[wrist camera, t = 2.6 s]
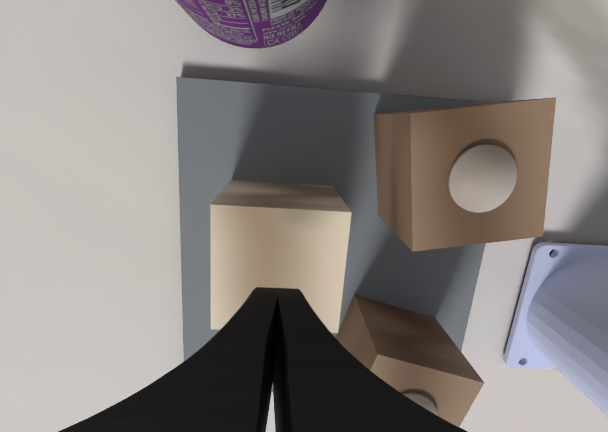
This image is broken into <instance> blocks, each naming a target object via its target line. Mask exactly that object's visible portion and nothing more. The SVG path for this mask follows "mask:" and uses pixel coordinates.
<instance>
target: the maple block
mask: <svg viewBox="0 0 608 432" xmlns="http://www.w3.org/2000/svg"><path fill="white" fill-rule="evenodd" d="M351 214H352V212H351V211H350V209H349V208H348V206H347V205H346V204H345V202H344V201H343V199H342V198H341V196H340V195H339V194H338V192H337V191H336V189H335V188H334V187H333V186H328V185H312V184H295V183H279V182H262V181H246V180H231V181H230V182H229V183H228V184H227V185H226V187H225V188H224V189H223V190H222V191H221V193H220V194H219V195H218V196H217V197H216V198H215V200H214V201H213V202H212V203H211V204H210V249H211V329H216V330H220V329H221V328H222V327H223V326H224V325H225V324H226V323H227V322H228V321H229V320H230V319H231V318H232V316H233V315H234V314H235V313H236V312H237V311H238V310H239V308H240V307H241V306H242V305H243V303H244V302H245V301H246V299H247V298H248V297H249V295H250V294H251V292H252V291H253V290H254V289H255V288H256V287H267V288H293V289H300V291H301V292H302V293H303V295H304V296H305V298H306V300H307V301H308V303H309V304H310V306H311V307H312V309H313V310H314V312H315V313H316V314H317V316H318V317H319V318H320V320H321V321H322V322H323V324H324V325H325V326H326V327H327V329H328V330H329V331H330V332H331V333H338V329H339V321H340V312H341V303H342V294H343V285H344V276H345V267H346V258H347V249H348V241H349V232H350V223H351Z"/></svg>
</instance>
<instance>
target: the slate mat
mask: <svg viewBox="0 0 608 432" xmlns="http://www.w3.org/2000/svg"><path fill="white" fill-rule="evenodd" d="M176 79H177V117H178V155H179V192H180V230H181V268H182V305H183V343H184V361H186V360H187V359H188V358H189V357H191V356H192V355H193V354H194V353H196V352H197V351H198V350H199V349H200V348H201V347H202V346H204V345H205V344H206V343H207V342H208V341H209V340H210V339H211V338H212V337H213V336H214V335H215V334H216V333H217V332H218V331H219V330H216V329H211V249H210V204H211V203H212V202H213V201H214V200H215V198H216V197H217V196H218V195H219V194H220V193H221V191H222V190H223V189H224V188H225V187H226V185H227V184H228V183H229V182H230V181H231V180H246V181H262V182H279V183H295V184H312V185H328V186H333V187H334V188H335V189H336V191H337V192H338V194H339V195H340V196H341V198H342V199H343V201H344V202H345V204H346V205H347V206H348V208H349V209H350V211H351V212H352V214H351V223H350V232H349V241H348V249H347V258H346V267H345V276H344V285H343V294H342V303H341V312H340V321H339V329H340V327H341V324H342V322H343V320H344V317H345V315H346V312H347V310H348V308H349V305H350V303H351V301H352V298H353V296H354V294H355V295H358V296H362V297H365V298H369V299H372V300H375V301H379V302H382V303H386V304H389V305H393V306H396V307H399V308H403V309H406V310H410V311H413V312H417V313H420V314H423V315H427V316H430V317H434V318H436V319H437V321H438V322H439V323H440V325H441V326H442V327H443V329H444V330H445V331H446V333H447V334H448V335H449V337H450V338H451V339H452V341H453V342H454V343H455V345H456V346H457V347H458V349H459V350H460V351H461V349H462V344H463V340H464V336H465V331H466V327H467V322H468V318H469V314H470V309H471V305H472V300H473V296H474V292H475V287H476V283H477V278H478V274H479V269H480V265H481V261H482V256H483V252H484V247H485V243H482V244H473V245H465V246H457V247H448V248H440V249H431V250H423V251H414V252H412V251H411V249H410V248H409V247H408V246H407V245H406V244H405V243H404V242H403V241H402V240H401V239H400V238H399V237H398V236H397V235H396V234H395V233H394V232H393V231H392V230H391V228H390V227H389V226H388V225H387V224H386V223H385V222H384V221H383V220H382V219H381V218H380V217H379V216H378V203H377V181H376V159H375V137H374V114H383V113H392V112H402V111H411V110H420V109H429V108H439V107H448V106H457V105H466V104H476V103H489V102H483V101H471V100H458V99H446V98H433V97H421V96H409V95H396V94H384V93H371V92H359V91H347V90H334V89H322V88H309V87H297V86H285V85H272V84H260V83H247V82H235V81H223V80H210V79H198V78H185V77H176ZM339 329H338V331H339ZM337 334H338V333H332V335H333V336H334V337H335V338H336V336H337ZM271 392H273V384H272V390H271Z"/></svg>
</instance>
